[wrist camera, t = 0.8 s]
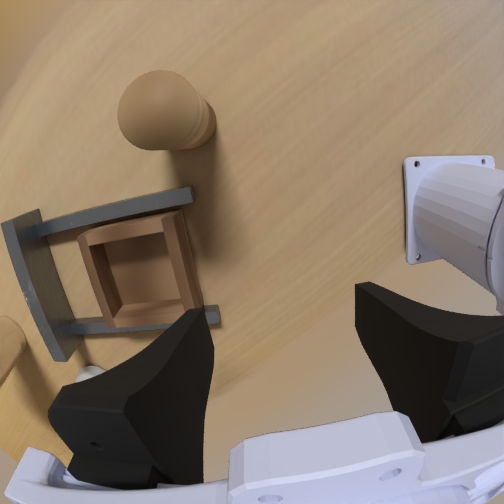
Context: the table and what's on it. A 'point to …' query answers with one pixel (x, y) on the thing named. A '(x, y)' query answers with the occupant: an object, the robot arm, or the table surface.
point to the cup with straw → (10, 346)
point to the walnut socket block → (142, 269)
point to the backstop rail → (46, 277)
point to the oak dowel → (165, 113)
